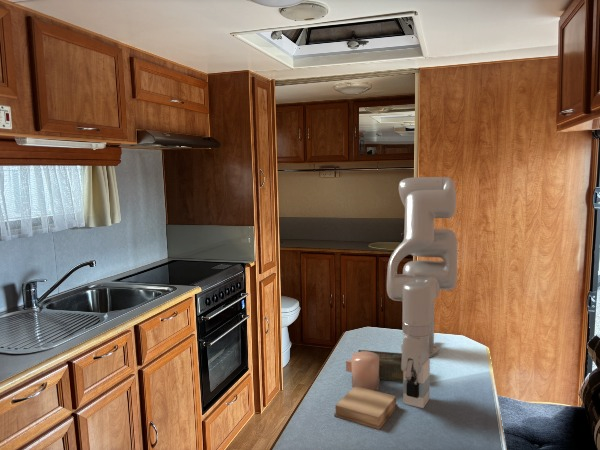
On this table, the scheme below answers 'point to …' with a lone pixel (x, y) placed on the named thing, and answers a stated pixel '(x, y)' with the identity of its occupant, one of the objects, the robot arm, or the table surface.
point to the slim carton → (423, 386)
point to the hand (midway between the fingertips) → (416, 390)
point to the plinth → (366, 407)
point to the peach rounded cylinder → (364, 370)
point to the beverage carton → (389, 365)
